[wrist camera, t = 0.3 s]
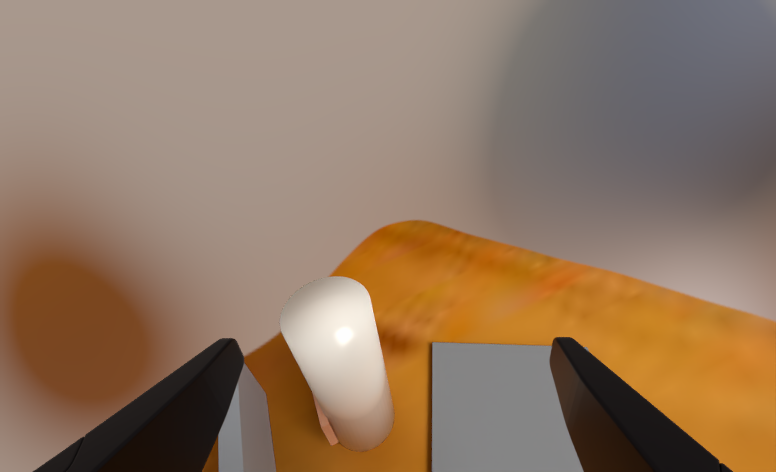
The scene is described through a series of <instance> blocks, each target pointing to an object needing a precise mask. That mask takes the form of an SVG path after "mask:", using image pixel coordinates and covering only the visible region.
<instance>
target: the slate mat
mask: <svg viewBox="0 0 776 472" xmlns="http://www.w3.org/2000/svg"><path fill="white" fill-rule="evenodd" d="M584 348H585V349H586V350H587V351H588V348H587V347H584ZM551 349H552V346H533V345H501V344H469V343H437V342H432V472H584V471H583V469H582V466H581V464H580V461H579V458H578V456H577V453H576V451H575V448H574V446H573V443H572V440H571V438H570V435H569V432H568V430H567V427H566V423H565V420H564V417H563V413H562V409H561V405H560V402H559V398H558V394H557V391H556V387H555V383H554V380H553V376H552V372H551V368H550V362H549V359H550V354H551Z"/></svg>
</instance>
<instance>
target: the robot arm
mask: <svg viewBox="0 0 776 472" xmlns="http://www.w3.org/2000/svg"><path fill="white" fill-rule="evenodd" d="M549 362H550V368H551V372H552V376H553V380H554V383H555V387H556V391H557V394H558V398H559V402H560V405H561V409H562V413H563V417H564V420H565V423H566V427H567V430H568V432H569V435H570V438H571V440H572V443H573V446H574V448H575V451H576V453H577V456H578V458H579V461H580V464H581V466H582V469H583V471H584V472H733V471H732V470H730V469H729V468H728V467H727V466H726V465H724V464H722V463H719V460H718V459H717V458H716V457H715V456H713V455H712V454H711V453H710V452H709V451H707V450H706V449H705V448H704V447H703V446H701V445H700V444H699V443H698V442H697V441H695V440H694V439H693V438H692V437H691V436H689V435H688V434H687V433H686V432H685V431H683V430H682V429H681V428H680V427H679V426H677V425H676V424H675V423H674V422H673V421H671V420H670V419H669V418H668V417H667V416H665V415H664V414H663V413H662V412H661V411H659V410H658V409H657V408H656V407H655V406H653V405H652V404H651V403H650V402H649V401H647V400H646V399H645V398H644V397H643V396H641V395H640V394H639V393H638V392H637V391H635V390H634V389H633V388H632V387H631V386H629V385H628V384H627V383H626V382H625V381H623V380H622V379H621V378H620V377H619V376H617V375H616V374H615V373H614V372H613V371H611V370H610V369H609V368H608V367H607V366H605V365H604V364H603V363H602V362H601V361H599V360H598V359H597V358H596V357H595V356H593V355H592V354H591V353H590V352H589V351H587V350H586V349H585V348H584V347H583V346H581V345H580V344H579V343H578V342H577V341H575V340H574V339H573V338H570V337H556V338H554V340H553V343H552V349H551V354H550V359H549ZM243 365H244V356H243V354H242V352H241V349H240V348H239V345H238V343H237V341H236V340H235V339H232V338H222V339H219V340H218V341H216V342H215V343H214V344H212V345H211V346H209V347H208V348H206V349H205V350H204V351H202V352H201V353H199V354H198V355H197V356H195V357H194V358H192V359H191V360H190V361H188V362H187V363H185V364H184V365H183V366H181V367H180V368H179V369H177V370H176V371H174V372H173V373H172V374H170V375H169V376H168V377H166V378H164V379H163V380H162V381H160V382H159V383H157V384H156V385H155V386H153V387H152V388H150V389H149V390H148V391H146V392H145V393H143V394H142V395H141V396H139V397H138V398H137V399H135V400H134V401H132V402H131V403H130V404H128V405H127V406H125V407H124V408H122V409H121V410H120V411H118V412H117V413H115V414H114V415H113V416H111V417H110V418H108V419H107V420H106V421H104V422H103V423H101V424H100V425H99V426H97V427H96V428H94V429H93V430H92V431H90V432H89V433H87V434H86V435H85V437H82V438H80V439H79V440H78V441H76V442H75V443H73V444H72V445H70V446H69V447H68V448H66V449H65V450H63V451H62V452H61V453H59V454H58V455H56V456H55V457H53V458H52V459H51V460H49V461H48V462H46V463H45V464H44V465H42V466H40V467H39V468H38V469H36V470H35V471H33V472H202V470H203V468H204V465H205V463H206V461H207V459H208V456H209V454H210V452H211V450H212V447H213V445H214V443H215V441H216V438H217V436H218V434H219V432H220V429H221V427H222V425H223V423H224V420H225V418H226V415H227V413H228V410H229V407H230V404H231V401H232V398H233V395H234V392H235V389H236V386H237V383H238V381H239V378H240V375H241V372H242V369H243Z"/></svg>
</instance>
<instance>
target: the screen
mask: <svg viewBox="0 0 776 472" xmlns="http://www.w3.org/2000/svg"><path fill="white" fill-rule="evenodd" d="M218 453H219V472H276V465H275V458H274V450H273V442H272V435H271V427H270V420H269V412H268V405H267V397H266V393H265V392H264V390H263V389H262V387H261V386H260V384H259V383H258V382H257V380H256V379H255V377H254V376H253V374H252V373H251V372H250V370H249V369H248V367H247V366H246V364H245V363H244V365H243V369H242V372H241V375H240V378H239V381H238V383H237V386H236V389H235V392H234V395H233V398H232V401H231V404H230V407H229V410H228V413H227V415H226V418H225V420H224V423H223V425H222V427H221V429H220V432H219V434H218Z"/></svg>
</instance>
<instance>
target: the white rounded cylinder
mask: <svg viewBox="0 0 776 472" xmlns="http://www.w3.org/2000/svg"><path fill="white" fill-rule="evenodd" d="M280 329H281V332H282V334H283V336H284V338H285V340H286V342H287V344H288V346H289V348H290V350H291V352H292V354H293V355H294V357H295V359H296V361H297V363H298V365H299V367H300V369H301V371H302V373H303V375H304V377H305V379H306V381H307V383H308V385H309V386H310V388H311V390H312V394H313V398H314V401H315V405H316V409H317V413H318V417H319V421H320V425H321V428H322V430H323V432H324V434H325V436H326V437H327V439H328V441H329V443H330V445H331V446H332V445H334V444H336V443H338V441H339V443H340V444H341V445H343V446H344V447H345V448H347V449H349V450H352V451H357V452H362V451H368V450H371V449H373V448H375V447H377V446H378V445H380V444H381V443H382V442H383V441H384V440H385V439H386V438H387V436H388V435H389V433H390V431H391V429H392V427H393V423H394V414H395V413H394V406H393V402H392V397H391V393H390V388H389V383H388V379H387V374H386V369H385V365H384V360H383V355H382V351H381V346H380V342H379V337H378V332H377V328H376V323H375V318H374V314H373V309H372V305H371V300H370V296H369V294H368V292H367V290H366V289H365V288H364V287H363V285H361V284H360V283H359V282H357V281H355V280H353V279H350V278H346V277H326V278H321V279H318V280H315V281H313V282H310V283H308V284H306V285H305V286H303V287H301V288H300V289H299V290H297V291H296V292H295V293H294V294H293V295H292V296H291V297H290V298H289V299H288V301H287V302H286V303H285V305H284V307H283V309H282V312H281V315H280Z"/></svg>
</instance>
